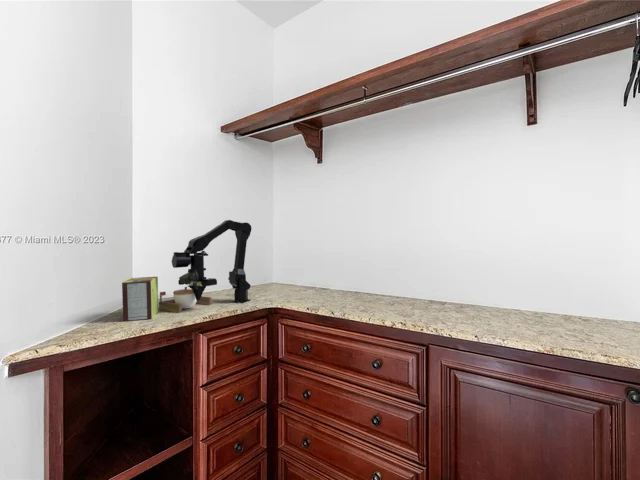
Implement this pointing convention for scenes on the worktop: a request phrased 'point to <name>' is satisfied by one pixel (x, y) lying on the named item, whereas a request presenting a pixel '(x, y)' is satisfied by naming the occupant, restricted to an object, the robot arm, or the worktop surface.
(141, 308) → the protein box
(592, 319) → the worktop surface
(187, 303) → the lidded jar
